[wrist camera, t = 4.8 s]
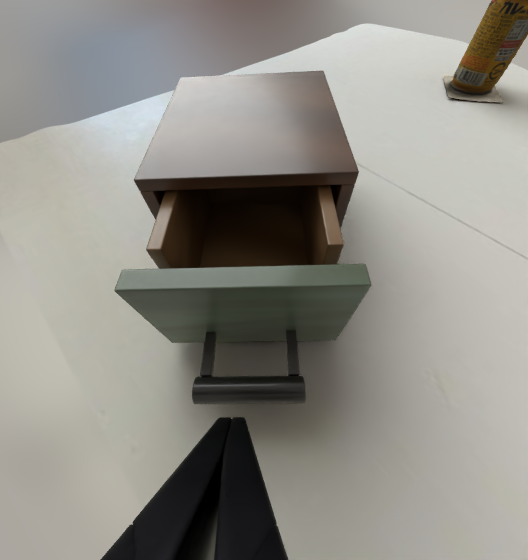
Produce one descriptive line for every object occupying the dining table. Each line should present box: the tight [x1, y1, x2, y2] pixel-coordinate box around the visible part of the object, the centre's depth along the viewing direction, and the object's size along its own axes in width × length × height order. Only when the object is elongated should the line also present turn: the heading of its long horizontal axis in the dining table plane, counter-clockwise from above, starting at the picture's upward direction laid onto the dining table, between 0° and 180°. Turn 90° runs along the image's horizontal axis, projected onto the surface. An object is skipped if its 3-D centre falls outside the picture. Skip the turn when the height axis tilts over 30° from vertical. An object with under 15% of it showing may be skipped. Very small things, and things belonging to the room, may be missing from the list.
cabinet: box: [134, 71, 359, 229], centre depth 21 cm, size 15×13×9 cm
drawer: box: [115, 185, 371, 404], centre depth 16 cm, size 18×11×7 cm, turn 0°
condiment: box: [443, 0, 528, 103], centre depth 33 cm, size 7×8×12 cm
